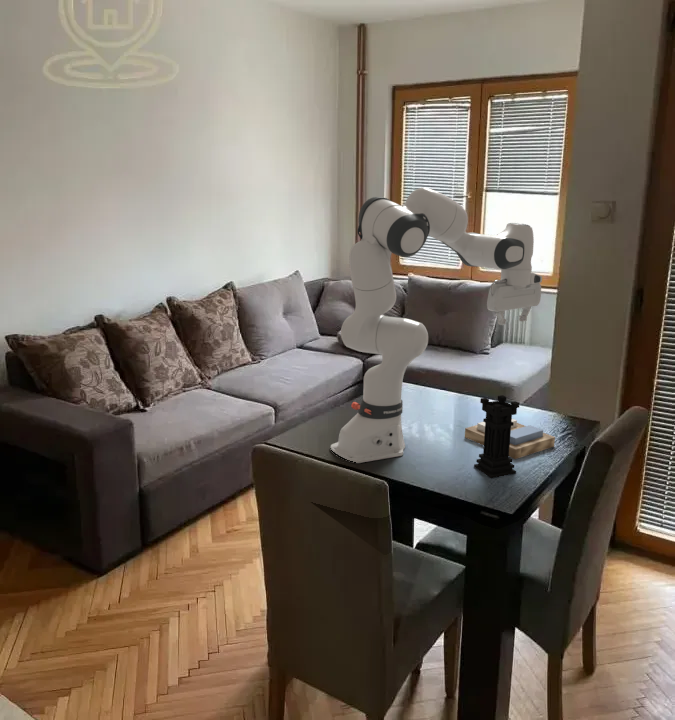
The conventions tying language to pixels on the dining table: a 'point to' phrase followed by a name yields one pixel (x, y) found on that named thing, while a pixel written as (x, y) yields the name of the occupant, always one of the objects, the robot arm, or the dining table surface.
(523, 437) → the blue-grey rectangular block
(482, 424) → the ivory key
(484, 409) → the chess piece
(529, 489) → the dining table surface
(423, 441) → the dining table surface
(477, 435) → the key console
